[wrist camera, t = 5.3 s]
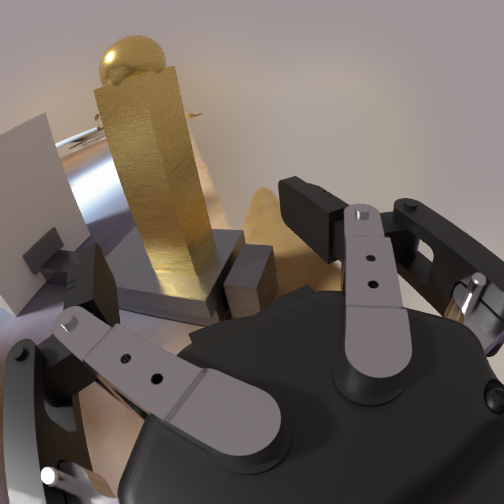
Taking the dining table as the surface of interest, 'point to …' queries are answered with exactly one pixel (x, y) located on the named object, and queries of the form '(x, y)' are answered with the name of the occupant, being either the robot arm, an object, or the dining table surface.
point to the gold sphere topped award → (160, 192)
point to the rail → (236, 284)
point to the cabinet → (33, 211)
